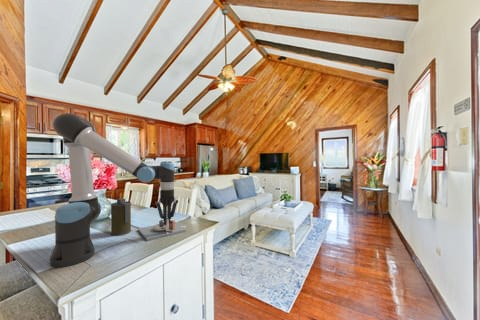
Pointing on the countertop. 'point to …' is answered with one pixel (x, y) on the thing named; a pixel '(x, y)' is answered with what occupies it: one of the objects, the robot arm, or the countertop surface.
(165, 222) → the robot arm
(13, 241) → the countertop surface
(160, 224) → the dial
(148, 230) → the panel
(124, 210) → the canister
